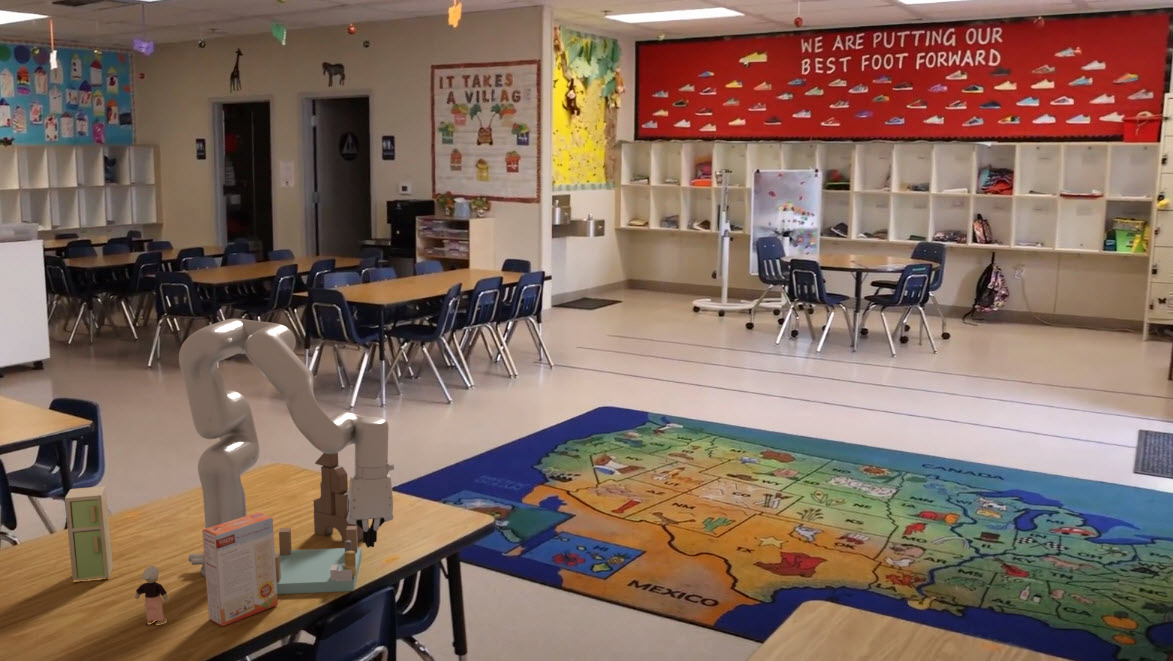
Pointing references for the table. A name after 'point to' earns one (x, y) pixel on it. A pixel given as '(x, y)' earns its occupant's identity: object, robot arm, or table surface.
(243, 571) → the cracker box
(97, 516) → the toy refrigerator
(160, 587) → the grandmother figurine
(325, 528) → the wooden toy
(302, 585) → the mint green baseplate
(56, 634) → the table surface
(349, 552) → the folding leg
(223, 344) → the robot arm
